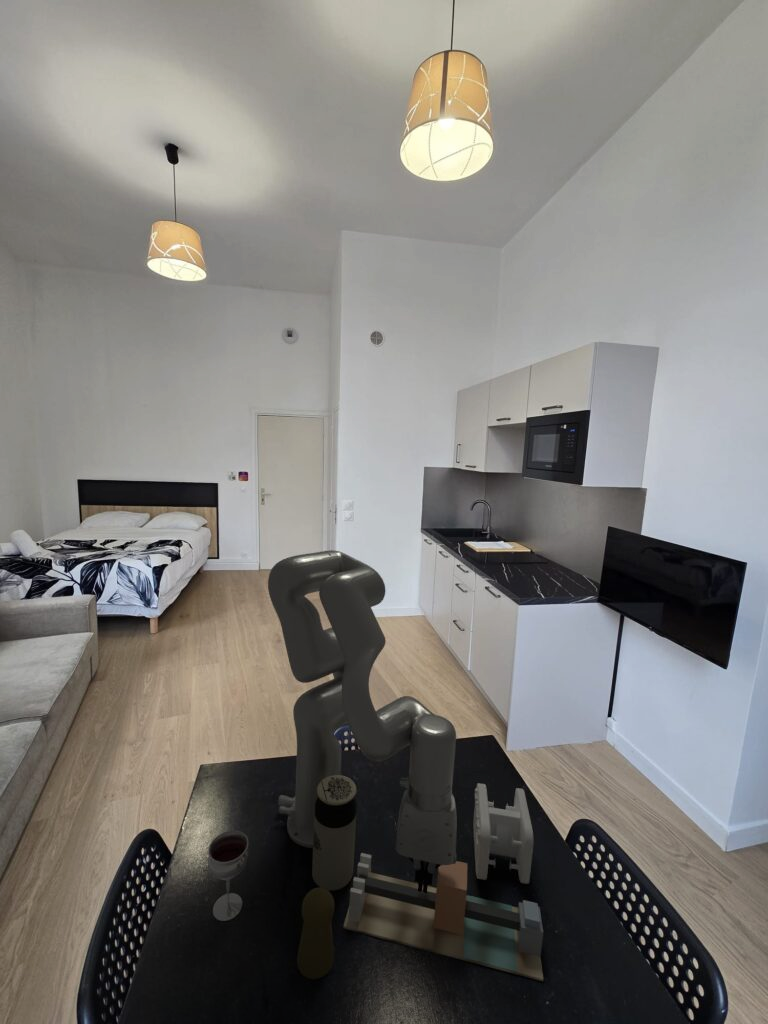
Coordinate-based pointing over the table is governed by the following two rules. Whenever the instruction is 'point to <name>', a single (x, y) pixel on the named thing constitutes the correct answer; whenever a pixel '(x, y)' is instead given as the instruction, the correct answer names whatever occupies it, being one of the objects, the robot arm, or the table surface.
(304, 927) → the yellow peg figure
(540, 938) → the connector
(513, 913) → the dark grey bar
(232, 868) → the wineglass
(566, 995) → the table surface
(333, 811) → the travel mug
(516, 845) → the cable organizer
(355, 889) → the cable comb
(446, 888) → the brown rectangular block
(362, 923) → the board
